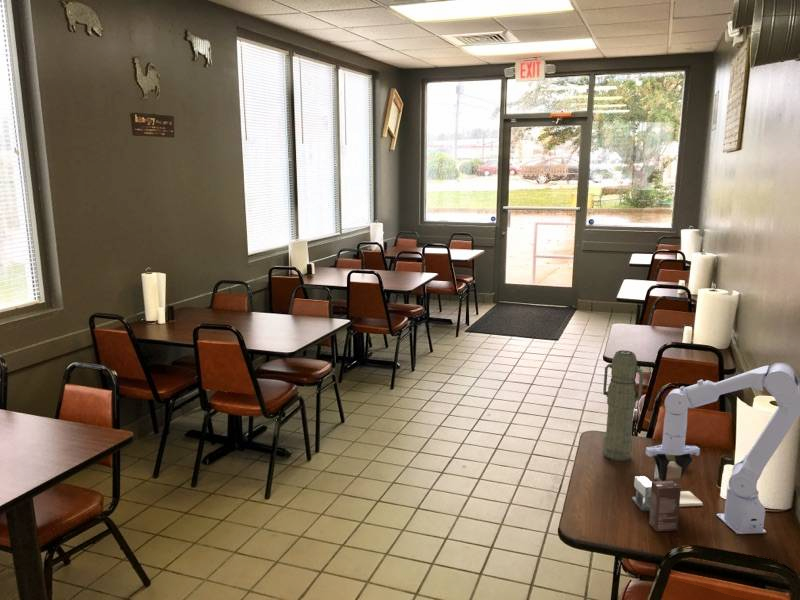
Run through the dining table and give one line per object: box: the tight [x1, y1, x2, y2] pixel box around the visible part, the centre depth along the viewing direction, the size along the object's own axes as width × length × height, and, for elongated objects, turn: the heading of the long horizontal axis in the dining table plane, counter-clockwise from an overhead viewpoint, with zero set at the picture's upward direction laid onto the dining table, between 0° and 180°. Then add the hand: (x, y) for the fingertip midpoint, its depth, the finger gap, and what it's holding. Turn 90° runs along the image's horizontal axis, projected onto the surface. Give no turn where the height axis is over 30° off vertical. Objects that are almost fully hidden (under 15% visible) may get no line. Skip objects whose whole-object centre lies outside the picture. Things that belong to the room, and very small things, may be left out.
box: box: [648, 480, 682, 532], centre depth 165 cm, size 6×4×12 cm
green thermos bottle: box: [602, 349, 645, 462], centre depth 207 cm, size 9×12×35 cm
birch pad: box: [679, 490, 704, 508], centre depth 181 cm, size 7×7×1 cm
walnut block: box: [659, 460, 682, 487], centre depth 177 cm, size 4×4×6 cm
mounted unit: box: [631, 475, 652, 512], centre depth 177 cm, size 6×4×7 cm, turn 5°
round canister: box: [653, 464, 659, 481], centre depth 193 cm, size 4×4×4 cm
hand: (669, 479), depth 177 cm, fingers closed on walnut block, 4 cm apart
